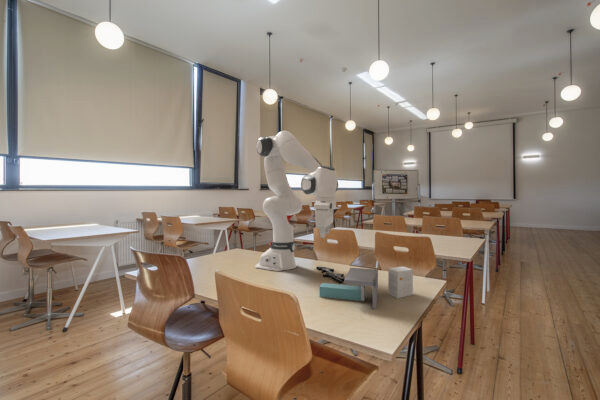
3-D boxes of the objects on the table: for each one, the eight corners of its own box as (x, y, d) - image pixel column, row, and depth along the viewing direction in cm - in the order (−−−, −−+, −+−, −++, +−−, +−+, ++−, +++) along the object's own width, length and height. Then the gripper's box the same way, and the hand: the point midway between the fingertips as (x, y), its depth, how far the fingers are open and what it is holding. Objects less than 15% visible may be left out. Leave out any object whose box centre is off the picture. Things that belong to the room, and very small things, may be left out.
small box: (403, 291, 124) (403, 266, 123) (413, 295, 119) (413, 269, 118) (387, 293, 121) (387, 268, 120) (397, 298, 115) (397, 271, 115)
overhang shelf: (344, 305, 108) (344, 279, 108) (350, 289, 125) (350, 267, 125) (375, 309, 105) (376, 282, 105) (377, 292, 122) (377, 269, 122)
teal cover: (319, 296, 117) (319, 286, 117) (322, 292, 122) (322, 282, 122) (360, 300, 113) (360, 290, 113) (361, 296, 118) (361, 286, 117)
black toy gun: (309, 267, 158) (326, 265, 162) (309, 270, 158) (326, 268, 162) (336, 281, 133) (355, 279, 137) (336, 285, 133) (355, 282, 137)
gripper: (323, 202, 139) (322, 231, 140) (312, 205, 119) (311, 239, 120) (337, 202, 137) (336, 232, 138) (328, 205, 117) (327, 240, 118)
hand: (324, 235), depth 129 cm, fingers open, 8 cm apart
